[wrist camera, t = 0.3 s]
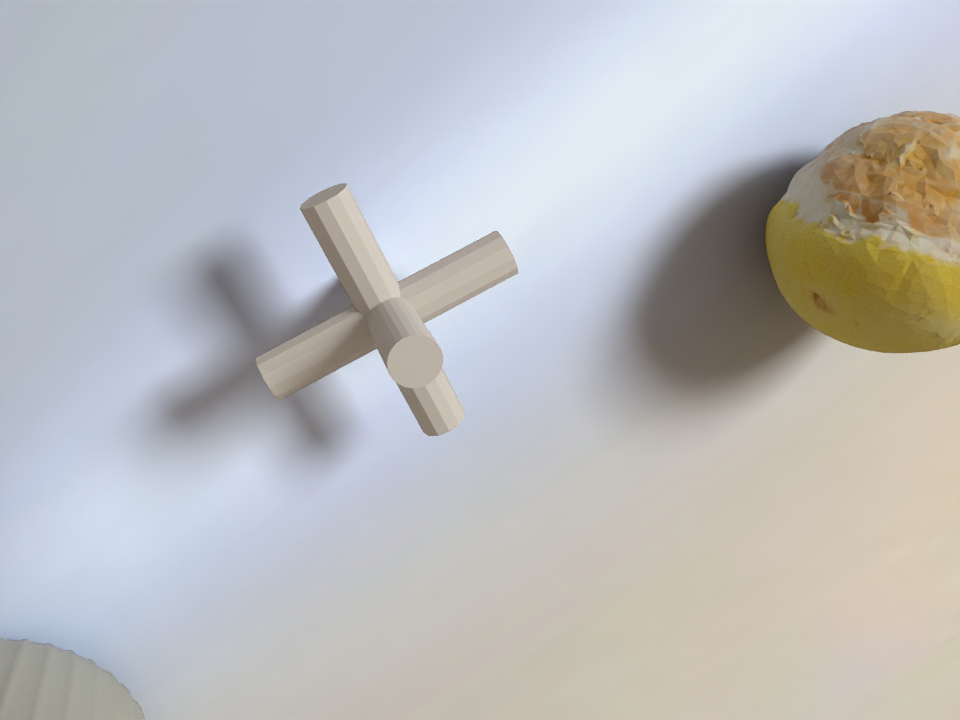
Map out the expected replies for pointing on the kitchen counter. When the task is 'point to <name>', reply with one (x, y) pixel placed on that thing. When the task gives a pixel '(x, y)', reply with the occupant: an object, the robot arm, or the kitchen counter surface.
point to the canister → (58, 686)
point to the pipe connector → (385, 312)
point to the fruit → (876, 235)
